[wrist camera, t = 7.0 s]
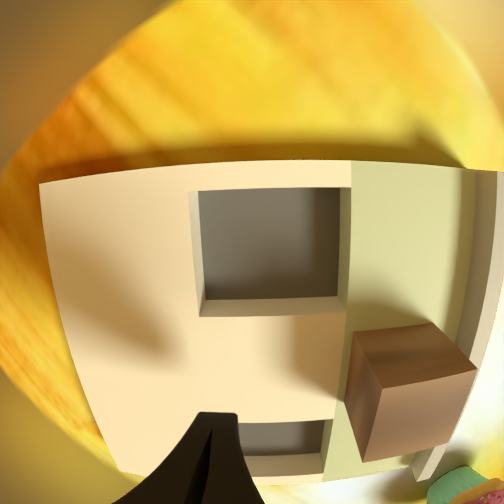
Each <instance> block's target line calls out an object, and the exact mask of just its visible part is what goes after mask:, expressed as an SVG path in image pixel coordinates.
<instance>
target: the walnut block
mask: <svg viewBox="0 0 504 504" xmlns="http://www.w3.org/2000/svg"><path fill="white" fill-rule="evenodd" d="M477 371H478V368H477V367H476V366H475V365H474V364H473V363H472V362H471V361H470V360H469V359H468V358H467V357H466V356H465V354H464V353H463V352H462V351H461V350H460V349H459V348H458V347H457V346H456V345H455V344H454V343H453V342H452V341H451V340H450V339H449V338H448V337H447V336H446V335H445V334H444V333H443V332H442V331H441V330H440V329H439V328H438V327H437V326H436V325H435V324H434V323H428V324H421V325H413V326H405V327H396V328H387V329H377V330H366V331H355V332H353V337H352V346H351V355H350V363H349V370H348V378H347V385H346V392H345V398H344V405H345V408H346V411H347V414H348V417H349V421H350V424H351V427H352V430H353V434H354V437H355V440H356V443H357V447H358V450H359V453H360V457H361V460H362V463H365V462H371V461H377V460H382V459H387V458H392V457H396V456H401V455H405V454H409V453H413V452H417V451H421V450H425V449H429V448H432V447H436V446H439V445H442V444H446V443H448V441H449V439H450V437H451V435H452V433H453V431H454V429H455V427H456V424H457V422H458V420H459V417H460V415H461V413H462V410H463V408H464V406H465V403H466V401H467V398H468V396H469V393H470V390H471V388H472V385H473V382H474V379H475V376H476V374H477Z"/></svg>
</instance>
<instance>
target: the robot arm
mask: <svg viewBox="0 0 504 504" xmlns="http://www.w3.org/2000/svg"><path fill="white" fill-rule="evenodd" d="M112 504H265V503H264V501H263V500H262V498H261V496H260V494H259V492H258V490H257V488H256V486H255V484H254V482H253V479H252V477H251V475H250V472H249V470H248V467H247V465H246V462H245V459H244V456H243V452H242V449H241V445H240V436H239V425H238V415H237V414H236V413H230V412H199V413H198V414H197V415H196V417H195V419H194V420H193V422H192V424H191V425H190V427H189V428H188V430H187V431H186V432H185V434H184V435H183V437H182V438H181V439H180V441H179V442H178V443H177V445H176V446H175V447H174V448H173V450H172V451H171V452H170V453H169V455H168V456H167V457H166V458H165V459H164V460H163V461H162V462H161V463H160V465H159V466H158V467H157V468H156V469H155V470H154V471H153V472H152V473H151V474H150V475H149V476H148V477H147V478H145V479H144V480H143V481H142V482H141V483H140V484H139V485H137V486H136V487H135V488H133V489H132V490H131V491H130V492H128V493H127V494H126V495H124V496H123V497H121V498H120V499H119V500H117V501H116V502H114V503H112Z"/></svg>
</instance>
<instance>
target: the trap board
mask: <svg viewBox="0 0 504 504" xmlns="http://www.w3.org/2000/svg"><path fill="white" fill-rule="evenodd" d="M39 190H40V202H41V212H42V221H43V229H44V236H45V243H46V249H47V255H48V261H49V267H50V272H51V277H52V282H53V287H54V291H55V296H56V300H57V305H58V309H59V313H60V317H61V320H62V324H63V328H64V332H65V335H66V339H67V342H68V345H69V349H70V352H71V355H72V358H73V361H74V364H75V367H76V370H77V373H78V376H79V379H80V382H81V385H82V387H83V390H84V393H85V395H86V398H87V400H88V403H89V406H90V408H91V410H92V413H93V415H94V418H95V420H96V422H97V425H98V427H99V429H100V432H101V434H102V436H103V438H104V440H105V442H106V445H107V447H108V449H109V451H110V453H111V455H112V457H113V459H114V461H115V463H116V465H117V467H118V469H119V471H121V472H126V473H131V474H137V475H142V476H149V475H150V474H151V473H152V472H153V471H154V470H155V469H156V468H157V467H158V466H159V465H160V463H161V462H162V461H163V460H164V459H165V458H166V457H167V456H168V455H169V453H170V452H171V451H172V450H173V448H174V447H175V446H176V445H177V443H178V442H179V441H180V439H181V438H182V437H183V435H184V434H185V432H186V431H187V430H188V428H189V427H190V425H191V424H192V422H193V420H194V419H195V417H196V415H197V414H198V413H199V412H230V413H236V414H237V415H238V425H239V436H240V445H241V449H242V452H243V456H244V459H245V462H246V465H247V467H248V470H249V472H250V475H251V477H252V479H253V482H254V484H255V485H284V484H301V483H314V482H324V481H333V480H340V479H348V478H354V477H360V476H366V475H372V474H377V473H382V472H387V471H392V470H396V469H401V468H405V467H409V466H410V467H411V470H412V472H413V475H414V477H415V480H416V482H419V481H422V480H425V479H429V478H430V477H431V475H432V474H433V472H434V470H435V468H436V467H437V465H438V463H439V461H440V459H441V457H442V456H443V454H444V452H445V450H446V448H447V446H448V444H449V442H450V440H451V438H452V436H453V434H454V432H455V429H456V427H457V425H458V423H459V421H460V418H461V416H462V414H463V412H464V409H465V407H466V404H467V402H468V399H469V397H470V394H471V392H472V389H473V387H474V384H475V381H476V378H477V376H478V373H479V370H480V367H481V364H482V361H483V358H484V355H485V351H486V348H487V345H488V341H489V338H490V334H491V330H492V327H493V323H494V319H495V315H496V311H497V306H498V302H499V297H500V292H501V287H502V282H503V276H504V172H498V171H485V170H473V169H465V168H456V167H446V166H435V165H423V164H410V163H395V162H376V161H349V160H267V161H239V162H219V163H203V164H189V165H177V166H166V167H155V168H145V169H136V170H128V171H119V172H112V173H104V174H97V175H90V176H83V177H77V178H70V179H64V180H58V181H53V182H47V183H42V184H39ZM428 323H434V324H435V325H436V326H437V327H438V328H439V329H440V330H441V331H442V332H443V333H444V334H445V335H446V336H447V337H448V338H449V339H450V340H451V341H452V342H453V343H454V344H455V345H456V346H457V347H458V348H459V349H460V350H461V351H462V352H463V353H464V354H465V356H466V357H467V358H468V359H469V360H470V361H471V362H472V363H473V364H474V365H475V366H476V367H477V368H478V371H477V374H476V376H475V379H474V382H473V385H472V388H471V390H470V393H469V396H468V398H467V401H466V403H465V406H464V408H463V410H462V413H461V415H460V417H459V420H458V422H457V424H456V427H455V429H454V431H453V433H452V435H451V437H450V439H449V441H448V443H446V444H442V445H439V446H436V447H432V448H429V449H425V450H421V451H417V452H413V453H409V454H405V455H401V456H396V457H392V458H387V459H382V460H377V461H371V462H365V463H362V460H361V457H360V453H359V450H358V447H357V443H356V440H355V437H354V434H353V430H352V427H351V424H350V421H349V417H348V414H347V411H346V408H345V405H344V398H345V392H346V385H347V378H348V370H349V363H350V355H351V346H352V337H353V332H355V331H366V330H377V329H387V328H396V327H405V326H413V325H421V324H428Z"/></svg>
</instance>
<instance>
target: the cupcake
mask: <svg viewBox="0 0 504 504" xmlns="http://www.w3.org/2000/svg"><path fill="white" fill-rule="evenodd" d="M427 504H504V482H503V481H501V480H500V479H499V478H494V479H491V480H488V479H486V478H484V477H483V476H481V475H480V474H478V473H477V472H476V471H474V470H473V469H472V468H471V467H469V466H463V467H459V468H456V469H454V470H452V471H450V472H448V473H446V474H445V475H443V476H442V477H440V478H439V479H438V480H436V481H435V482H434V483H433V484H432V485H431V486H430V487H429V489H428V491H427Z"/></svg>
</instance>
